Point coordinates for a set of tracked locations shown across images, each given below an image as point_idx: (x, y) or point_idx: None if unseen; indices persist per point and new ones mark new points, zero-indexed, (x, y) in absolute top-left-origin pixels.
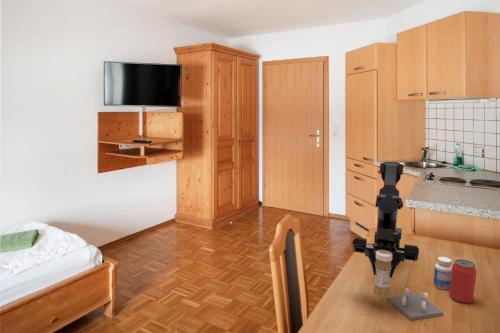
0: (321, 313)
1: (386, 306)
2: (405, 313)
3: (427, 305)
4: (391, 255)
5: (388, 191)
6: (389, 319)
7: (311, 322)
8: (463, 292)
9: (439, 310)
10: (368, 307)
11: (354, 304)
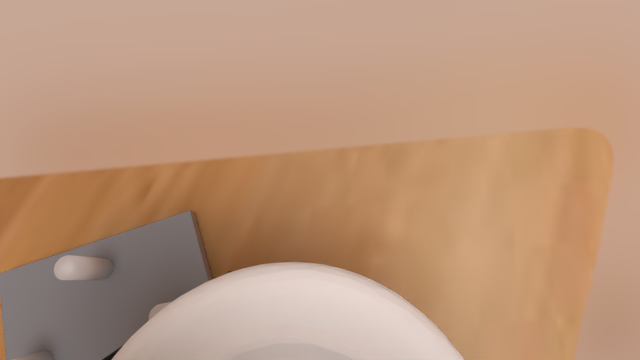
0: (574, 226)
1: None
2: (200, 246)
3: (45, 332)
4: (122, 349)
5: None
6: (286, 212)
7: (603, 160)
8: None
9: (8, 287)
10: None
11: None
